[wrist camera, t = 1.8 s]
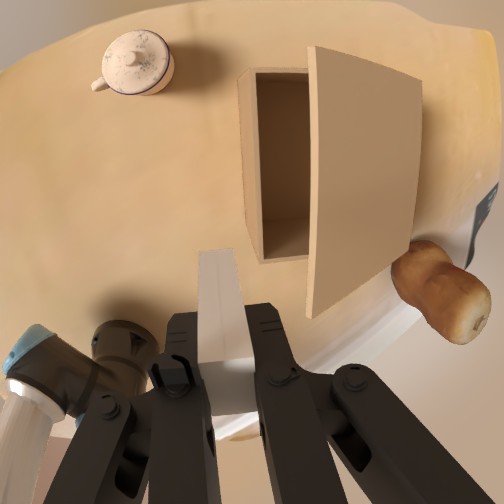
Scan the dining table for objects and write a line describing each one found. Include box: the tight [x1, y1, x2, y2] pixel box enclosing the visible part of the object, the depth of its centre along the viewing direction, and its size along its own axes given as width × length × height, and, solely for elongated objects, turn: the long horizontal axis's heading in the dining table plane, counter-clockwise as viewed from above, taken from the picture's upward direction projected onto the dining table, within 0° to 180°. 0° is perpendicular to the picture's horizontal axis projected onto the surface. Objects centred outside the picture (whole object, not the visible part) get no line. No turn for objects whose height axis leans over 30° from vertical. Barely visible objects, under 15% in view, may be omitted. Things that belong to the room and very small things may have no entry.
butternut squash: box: [391, 241, 491, 345], centre depth 49 cm, size 14×13×25 cm
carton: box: [237, 67, 311, 264], centre depth 41 cm, size 24×22×14 cm
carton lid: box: [306, 46, 422, 319], centre depth 30 cm, size 25×22×1 cm
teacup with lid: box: [91, 30, 175, 96], centre depth 33 cm, size 12×9×12 cm
